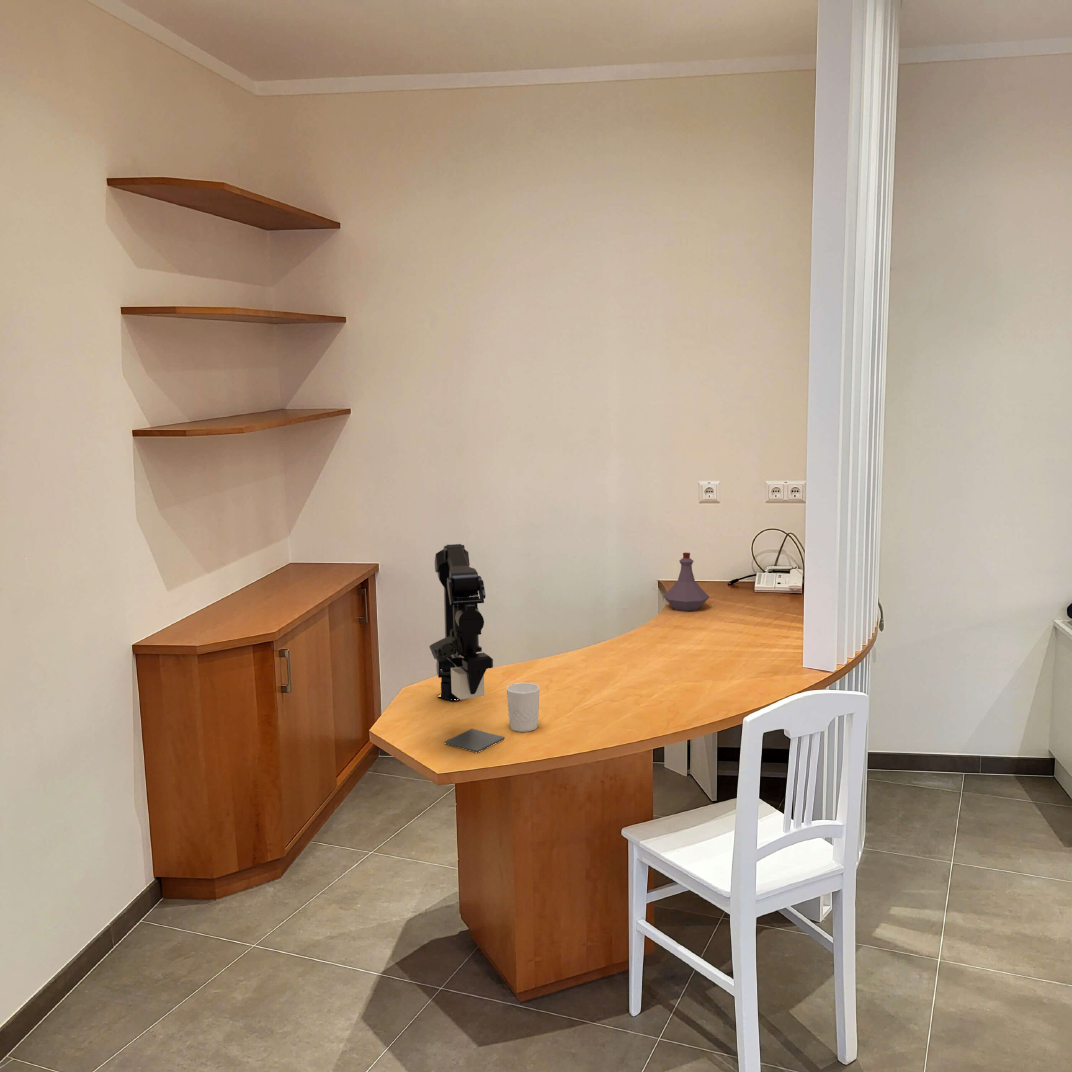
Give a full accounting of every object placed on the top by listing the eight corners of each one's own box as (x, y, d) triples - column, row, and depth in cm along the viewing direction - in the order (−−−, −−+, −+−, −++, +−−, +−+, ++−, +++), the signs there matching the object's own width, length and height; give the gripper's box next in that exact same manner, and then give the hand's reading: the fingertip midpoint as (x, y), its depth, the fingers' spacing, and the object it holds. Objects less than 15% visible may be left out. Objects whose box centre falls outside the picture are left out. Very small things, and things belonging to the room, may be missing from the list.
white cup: (539, 720, 245) (538, 682, 243) (540, 732, 237) (540, 692, 235) (507, 721, 244) (506, 683, 243) (507, 733, 237) (506, 693, 235)
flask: (709, 614, 345) (709, 557, 341) (661, 613, 348) (661, 557, 344) (709, 603, 361) (710, 549, 357) (664, 602, 364) (664, 548, 360)
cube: (451, 692, 234) (450, 668, 233) (475, 689, 236) (474, 664, 235) (460, 699, 228) (459, 674, 227) (484, 695, 231) (483, 670, 230)
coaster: (471, 731, 239) (471, 728, 238) (504, 739, 233) (504, 737, 233) (444, 744, 231) (444, 741, 231) (477, 753, 225) (477, 750, 225)
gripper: (420, 621, 235) (423, 685, 237) (445, 637, 218) (448, 706, 220) (464, 616, 239) (466, 678, 242) (492, 632, 223) (495, 699, 225)
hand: (468, 690), depth 232 cm, fingers closed on cube, 6 cm apart
